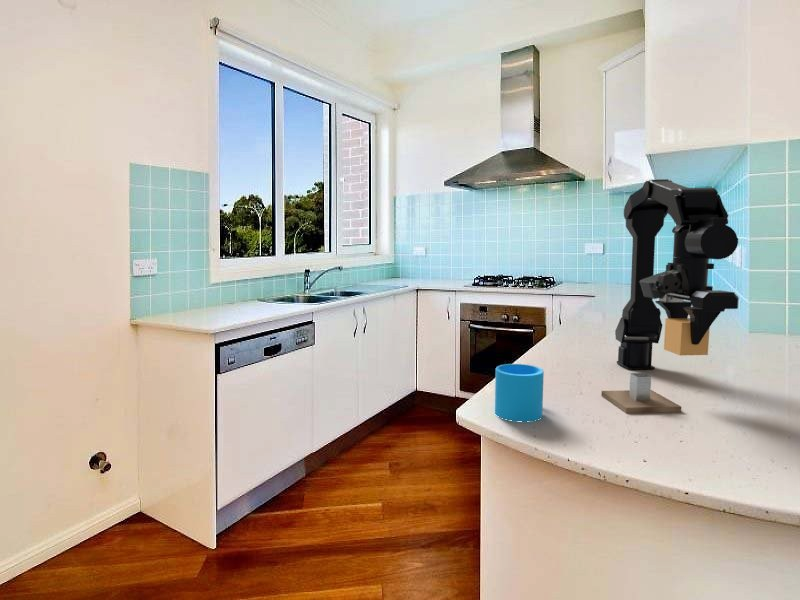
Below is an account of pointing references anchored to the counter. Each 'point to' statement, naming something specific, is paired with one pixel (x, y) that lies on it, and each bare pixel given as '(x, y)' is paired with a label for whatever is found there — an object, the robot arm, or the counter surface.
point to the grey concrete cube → (640, 386)
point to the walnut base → (640, 402)
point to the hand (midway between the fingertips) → (685, 341)
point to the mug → (519, 392)
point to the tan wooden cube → (683, 338)
